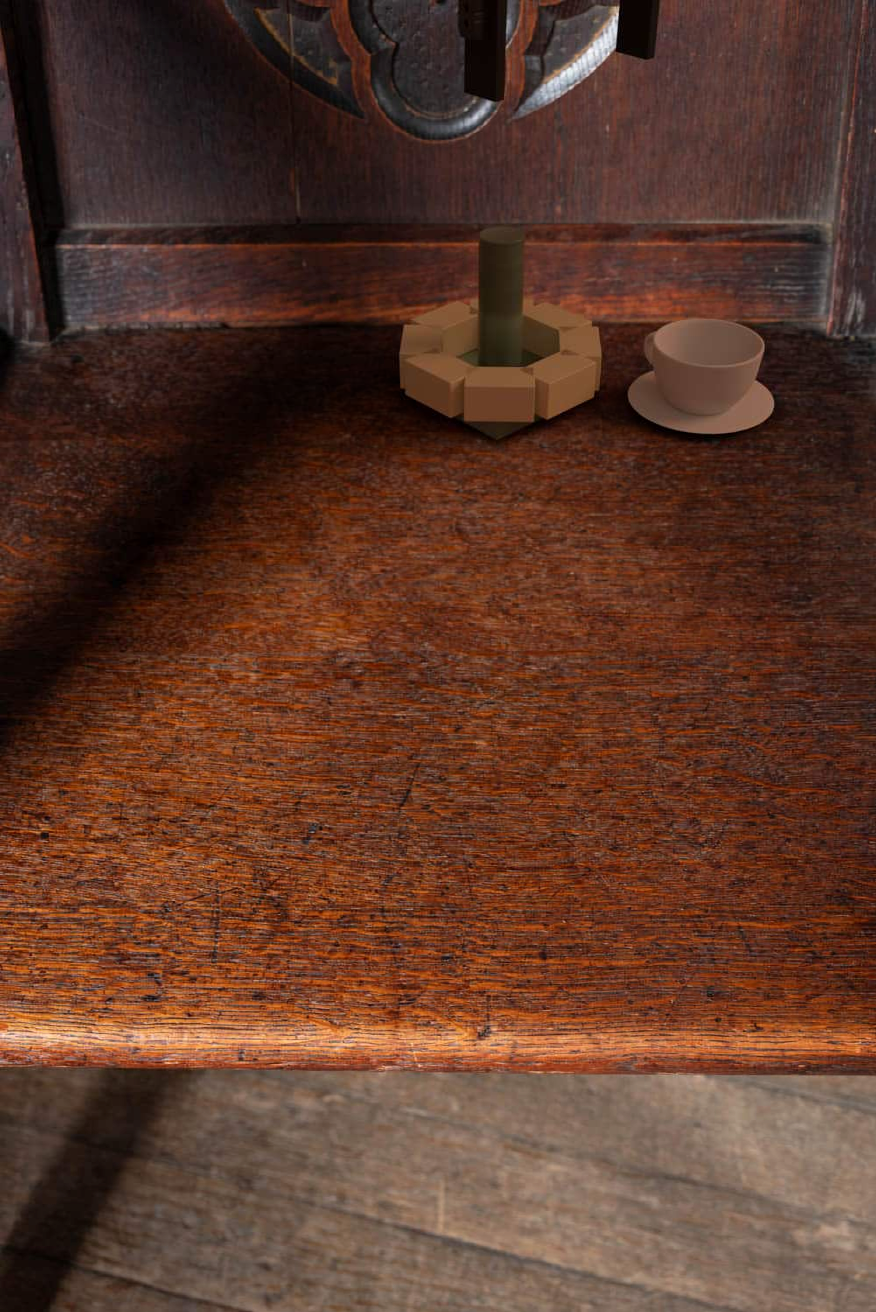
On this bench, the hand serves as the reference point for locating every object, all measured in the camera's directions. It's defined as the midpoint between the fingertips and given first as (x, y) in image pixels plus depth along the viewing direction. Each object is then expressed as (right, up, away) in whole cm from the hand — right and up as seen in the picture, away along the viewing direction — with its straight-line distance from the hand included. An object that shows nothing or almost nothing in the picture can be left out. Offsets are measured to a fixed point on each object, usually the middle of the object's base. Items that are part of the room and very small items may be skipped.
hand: (562, 75), depth 79 cm
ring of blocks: (-4, -17, +9) cm, 19 cm away
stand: (-4, -18, +10) cm, 21 cm away
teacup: (+10, -19, +9) cm, 23 cm away
